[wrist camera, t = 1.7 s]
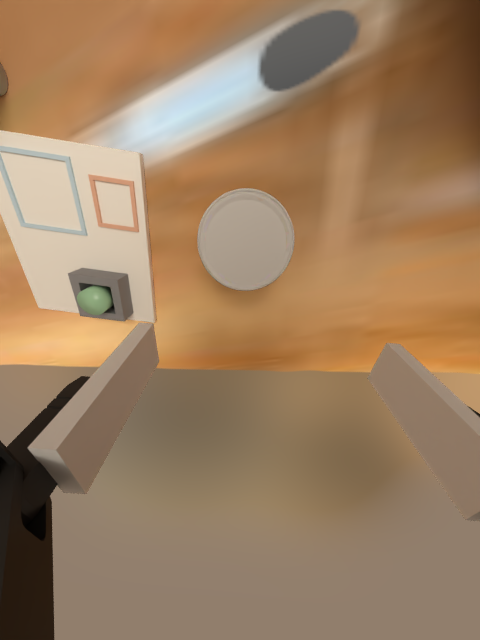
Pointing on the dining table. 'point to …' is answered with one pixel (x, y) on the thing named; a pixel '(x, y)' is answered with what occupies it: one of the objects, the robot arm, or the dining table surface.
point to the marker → (3, 81)
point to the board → (78, 223)
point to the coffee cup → (245, 239)
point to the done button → (95, 299)
